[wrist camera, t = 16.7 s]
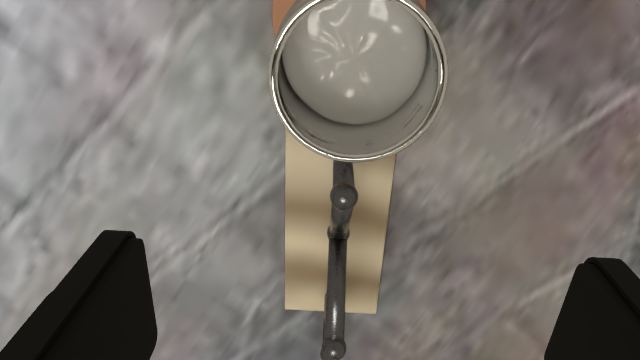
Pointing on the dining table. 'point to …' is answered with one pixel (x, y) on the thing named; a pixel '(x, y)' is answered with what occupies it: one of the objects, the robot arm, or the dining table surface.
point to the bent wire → (338, 260)
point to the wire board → (314, 219)
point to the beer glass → (357, 76)
